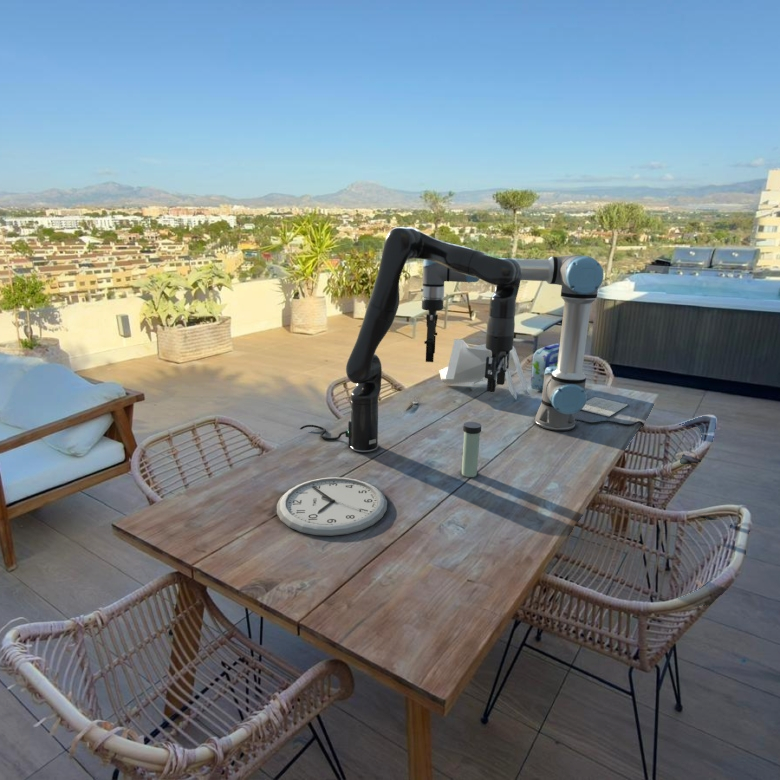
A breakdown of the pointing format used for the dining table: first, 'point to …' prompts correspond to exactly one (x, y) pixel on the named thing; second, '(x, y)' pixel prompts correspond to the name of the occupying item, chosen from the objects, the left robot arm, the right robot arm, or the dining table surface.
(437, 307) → the right robot arm
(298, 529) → the wall clock
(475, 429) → the lid
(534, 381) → the lunch box
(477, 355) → the white plastic object
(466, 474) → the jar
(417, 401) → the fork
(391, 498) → the dining table surface
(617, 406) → the invitation card
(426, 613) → the dining table surface
